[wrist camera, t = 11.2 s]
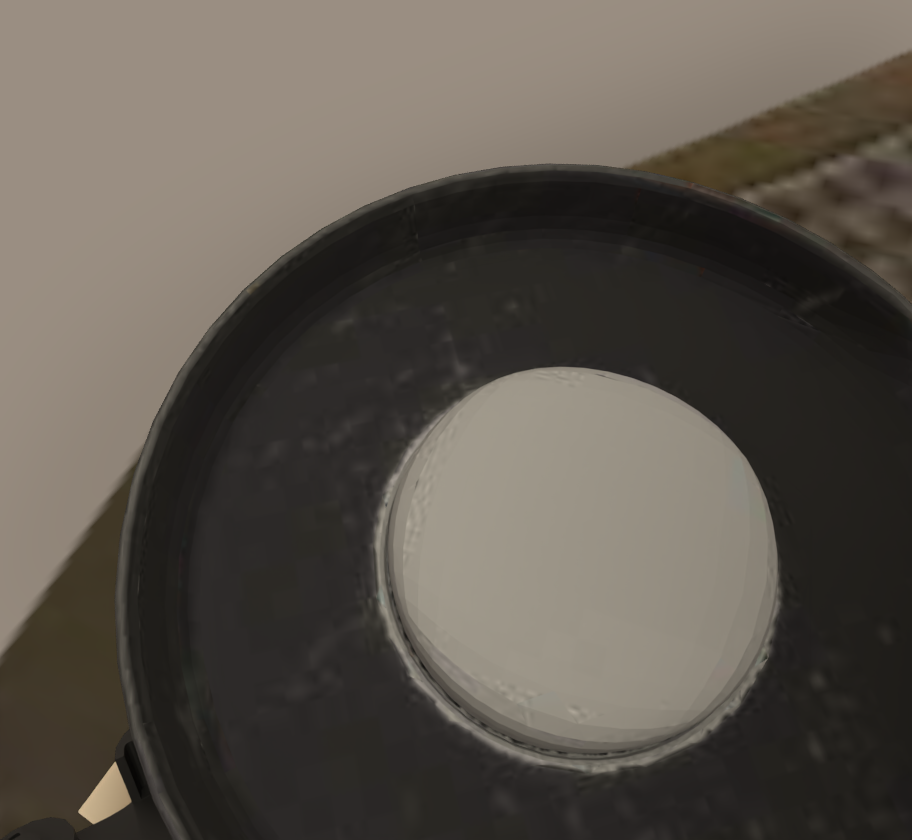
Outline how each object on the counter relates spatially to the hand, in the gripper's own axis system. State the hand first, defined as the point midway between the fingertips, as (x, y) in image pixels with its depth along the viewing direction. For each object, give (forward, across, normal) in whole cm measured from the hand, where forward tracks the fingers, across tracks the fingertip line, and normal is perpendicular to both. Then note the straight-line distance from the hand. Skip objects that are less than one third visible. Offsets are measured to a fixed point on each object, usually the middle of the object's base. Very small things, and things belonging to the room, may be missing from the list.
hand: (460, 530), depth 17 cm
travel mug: (+4, 0, -9) cm, 9 cm away
